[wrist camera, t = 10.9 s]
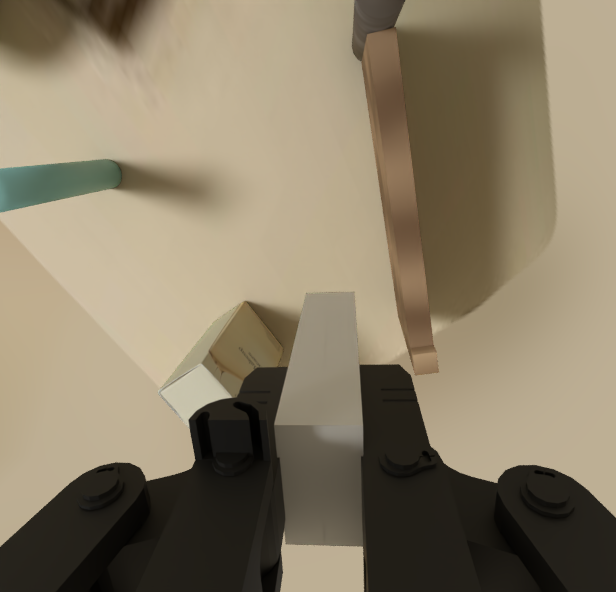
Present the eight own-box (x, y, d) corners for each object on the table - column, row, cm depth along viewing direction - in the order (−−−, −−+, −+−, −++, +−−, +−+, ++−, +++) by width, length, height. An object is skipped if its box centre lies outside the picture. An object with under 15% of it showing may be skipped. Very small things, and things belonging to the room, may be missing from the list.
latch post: (88, 166, 37) (-39, 180, 25) (112, 154, 36) (-6, 163, 24) (104, 192, 38) (-13, 219, 25) (126, 181, 37) (19, 203, 25)
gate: (349, 30, 32) (351, -38, 19) (382, 21, 31) (405, -53, 19) (391, 311, 39) (412, 391, 27) (418, 307, 38) (452, 386, 26)
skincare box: (285, 348, 41) (261, 428, 30) (249, 371, 42) (213, 457, 31) (243, 297, 40) (202, 361, 28) (208, 322, 41) (154, 393, 30)
